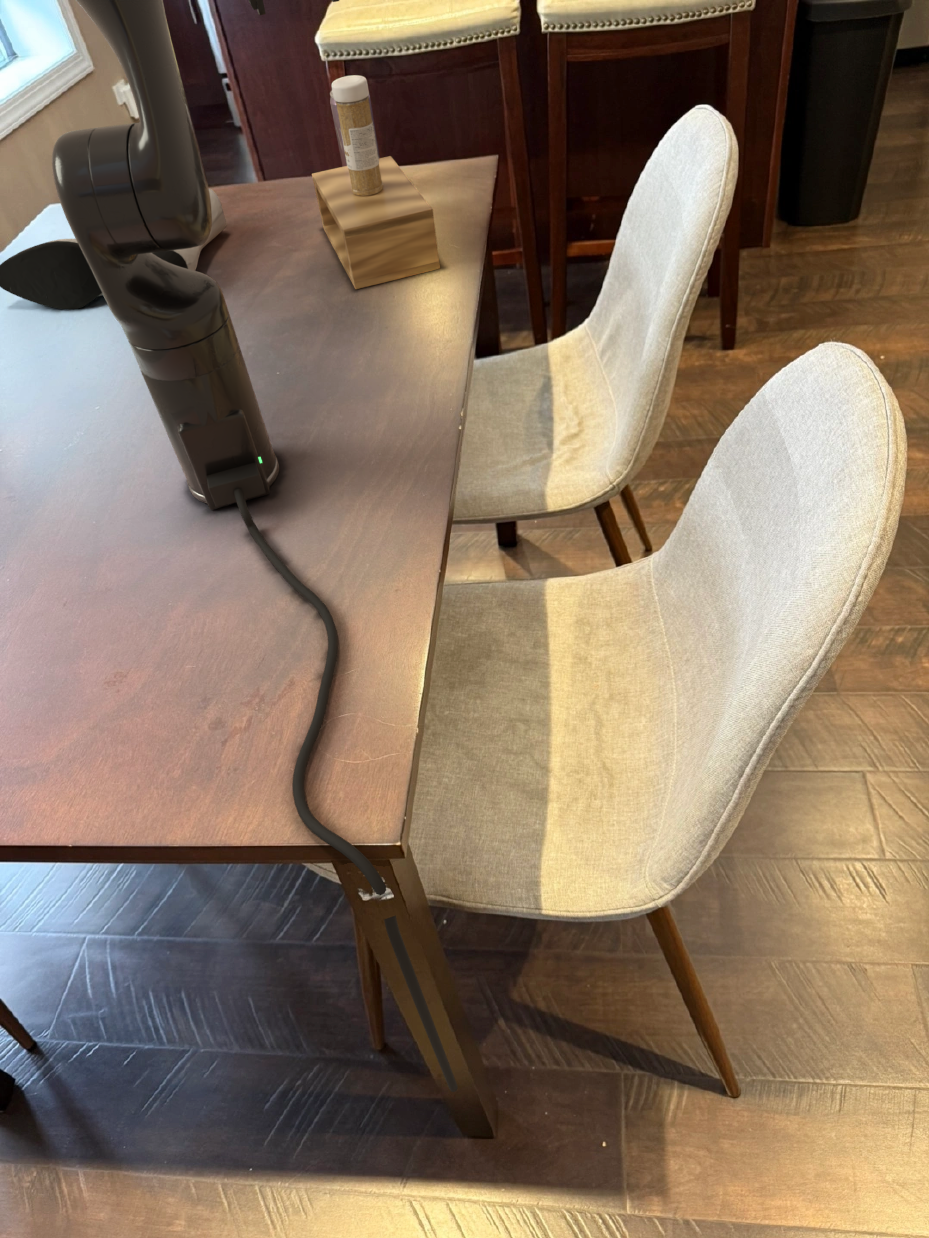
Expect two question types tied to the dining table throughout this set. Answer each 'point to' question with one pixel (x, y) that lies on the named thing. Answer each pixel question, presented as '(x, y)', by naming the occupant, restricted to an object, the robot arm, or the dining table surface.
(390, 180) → the box
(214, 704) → the dining table surface
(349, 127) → the sprinkles bottle
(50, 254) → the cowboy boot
